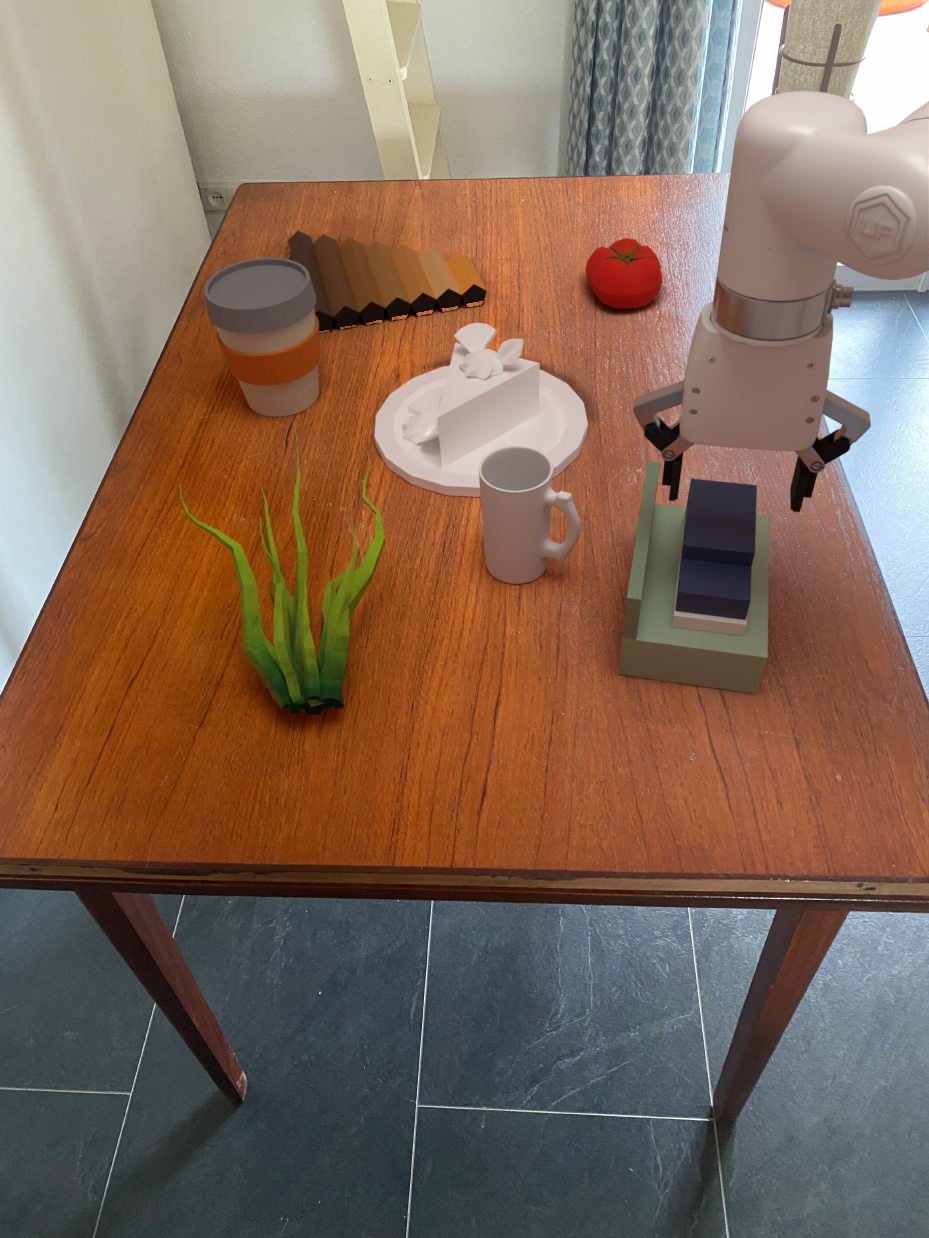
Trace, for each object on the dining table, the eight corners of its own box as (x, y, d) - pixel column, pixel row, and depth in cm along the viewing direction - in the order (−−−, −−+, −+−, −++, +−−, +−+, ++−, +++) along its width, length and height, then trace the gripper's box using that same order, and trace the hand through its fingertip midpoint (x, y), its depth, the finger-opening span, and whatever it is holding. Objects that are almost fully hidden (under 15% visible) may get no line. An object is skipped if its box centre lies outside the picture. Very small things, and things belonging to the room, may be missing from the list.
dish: (439, 354, 118) (432, 271, 110) (619, 398, 109) (626, 312, 101) (334, 460, 104) (317, 375, 96) (531, 521, 95) (531, 433, 87)
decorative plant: (421, 511, 98) (408, 394, 87) (344, 736, 78) (315, 621, 67) (263, 497, 100) (232, 382, 90) (151, 709, 81) (94, 595, 70)
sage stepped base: (759, 553, 90) (779, 474, 83) (756, 694, 79) (780, 616, 71) (638, 539, 93) (647, 461, 85) (617, 674, 81) (626, 597, 74)
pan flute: (290, 253, 140) (309, 335, 123) (286, 232, 137) (305, 312, 121) (447, 228, 143) (487, 304, 126) (446, 207, 140) (486, 281, 124)
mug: (470, 572, 91) (464, 477, 82) (504, 532, 94) (501, 437, 86) (560, 607, 87) (564, 512, 78) (591, 564, 91) (598, 469, 82)
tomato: (602, 322, 121) (605, 275, 117) (577, 283, 129) (579, 238, 124) (671, 310, 123) (676, 263, 118) (642, 273, 130) (646, 228, 125)
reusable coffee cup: (278, 358, 120) (252, 248, 108) (353, 384, 115) (334, 271, 103) (212, 407, 113) (178, 294, 102) (289, 436, 108) (261, 321, 97)
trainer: (682, 520, 87) (690, 474, 83) (747, 527, 86) (758, 481, 82) (671, 627, 78) (679, 582, 74) (743, 636, 77) (755, 591, 73)
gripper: (899, 279, 63) (842, 476, 75) (647, 270, 66) (632, 459, 79) (910, 335, 58) (847, 536, 70) (636, 322, 61) (622, 515, 74)
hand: (733, 495), depth 75 cm, fingers open, 9 cm apart
